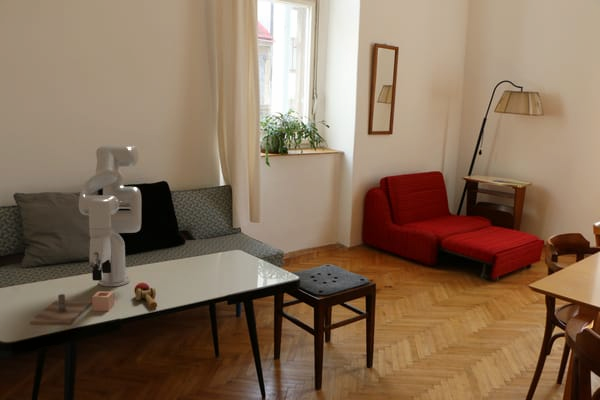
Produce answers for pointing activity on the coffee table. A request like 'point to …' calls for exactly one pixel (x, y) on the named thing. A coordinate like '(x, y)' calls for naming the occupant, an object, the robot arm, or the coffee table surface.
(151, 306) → the kendama
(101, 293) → the collar
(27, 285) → the coffee table surface
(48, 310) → the post block
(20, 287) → the coffee table surface
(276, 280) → the coffee table surface
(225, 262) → the coffee table surface
